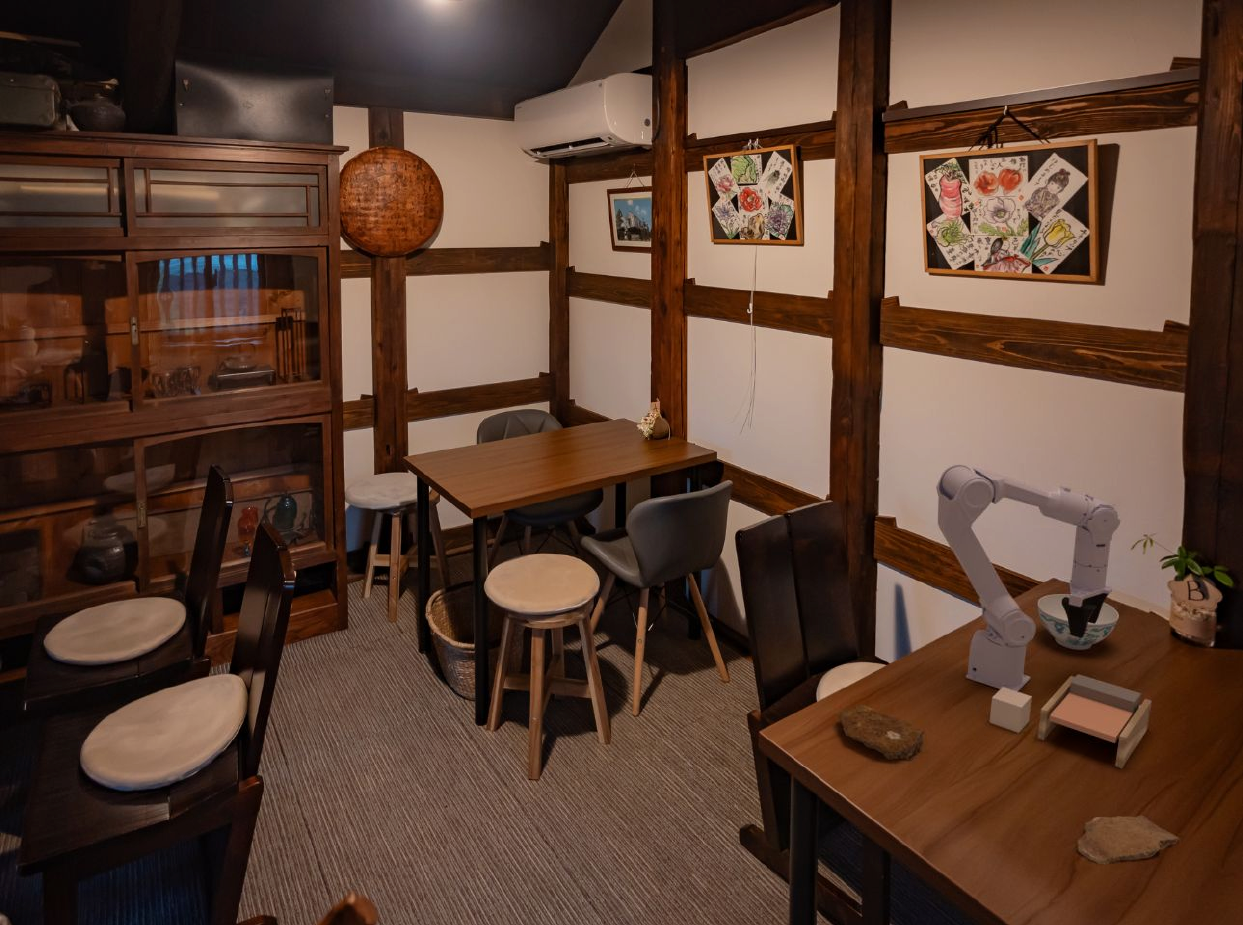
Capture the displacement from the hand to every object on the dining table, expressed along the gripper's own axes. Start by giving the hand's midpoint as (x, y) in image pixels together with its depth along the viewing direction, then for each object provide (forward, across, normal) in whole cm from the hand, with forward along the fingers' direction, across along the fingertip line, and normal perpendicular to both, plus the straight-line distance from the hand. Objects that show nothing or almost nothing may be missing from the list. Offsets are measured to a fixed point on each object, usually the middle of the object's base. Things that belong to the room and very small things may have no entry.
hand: (1083, 628), depth 166 cm
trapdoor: (+6, -19, -8) cm, 22 cm away
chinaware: (+11, +15, +6) cm, 20 cm away
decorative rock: (+10, -45, +19) cm, 50 cm away
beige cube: (+10, -24, +4) cm, 27 cm away
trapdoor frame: (+10, -19, -8) cm, 23 cm away
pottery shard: (+11, -46, -19) cm, 51 cm away
